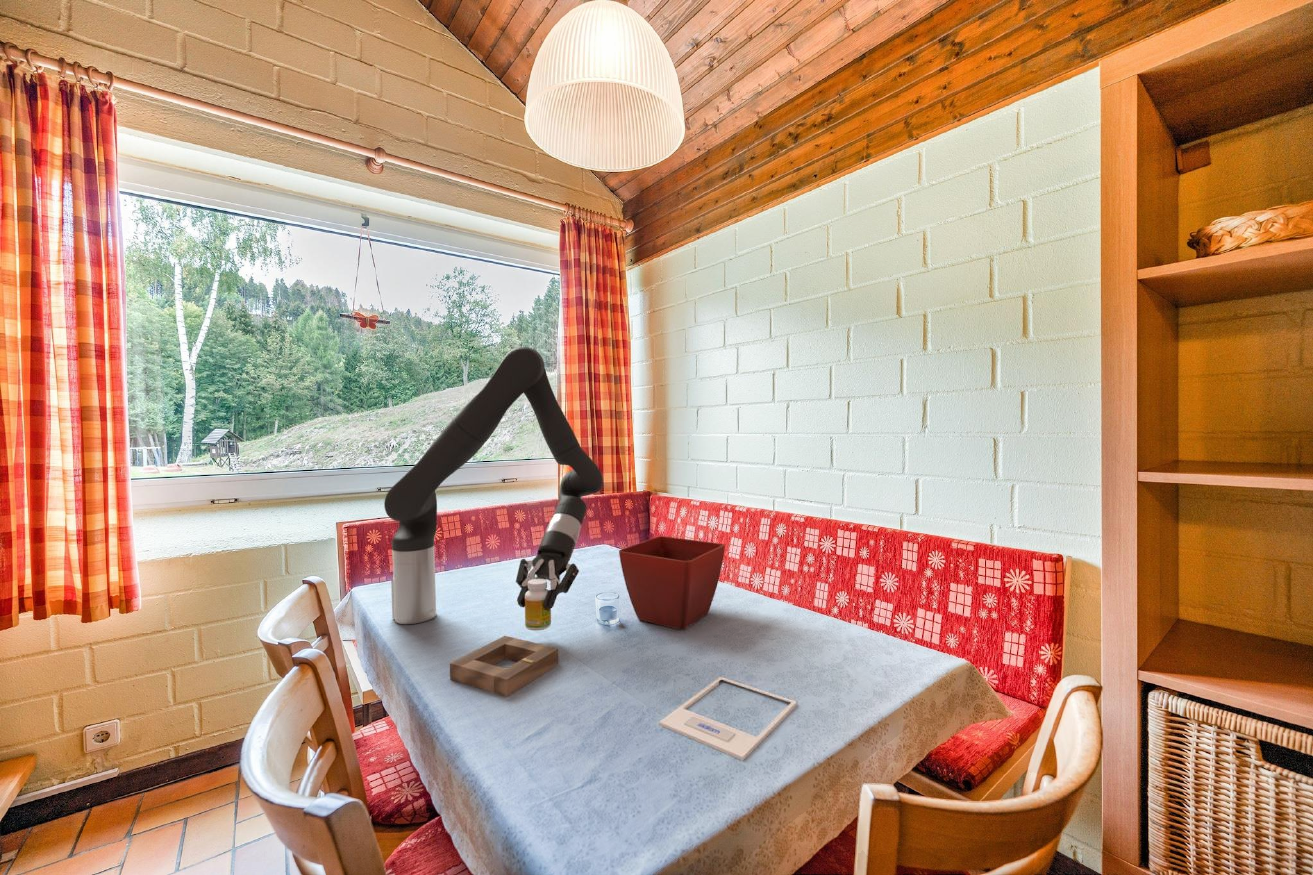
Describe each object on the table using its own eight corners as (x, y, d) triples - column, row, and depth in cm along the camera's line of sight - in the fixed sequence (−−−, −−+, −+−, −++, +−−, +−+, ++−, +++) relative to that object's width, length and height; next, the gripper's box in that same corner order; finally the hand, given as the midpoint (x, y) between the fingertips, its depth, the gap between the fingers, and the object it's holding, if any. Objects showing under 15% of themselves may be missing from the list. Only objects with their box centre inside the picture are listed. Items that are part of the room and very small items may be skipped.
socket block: (450, 679, 100) (449, 661, 99) (505, 649, 112) (504, 634, 112) (506, 696, 93) (506, 678, 93) (558, 663, 105) (558, 647, 105)
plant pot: (727, 611, 132) (726, 543, 131) (689, 639, 116) (688, 561, 115) (661, 598, 142) (660, 535, 141) (617, 622, 126) (616, 550, 125)
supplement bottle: (545, 632, 112) (544, 585, 112) (520, 630, 113) (520, 584, 113) (554, 622, 117) (554, 578, 117) (531, 620, 118) (531, 576, 118)
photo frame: (659, 720, 84) (720, 675, 98) (659, 727, 84) (720, 681, 98) (742, 755, 75) (796, 700, 89) (742, 763, 75) (796, 707, 89)
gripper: (526, 527, 124) (496, 595, 113) (583, 531, 119) (557, 602, 108) (538, 544, 129) (511, 611, 118) (593, 549, 125) (570, 619, 114)
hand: (533, 606), depth 113 cm, fingers closed on supplement bottle, 5 cm apart
